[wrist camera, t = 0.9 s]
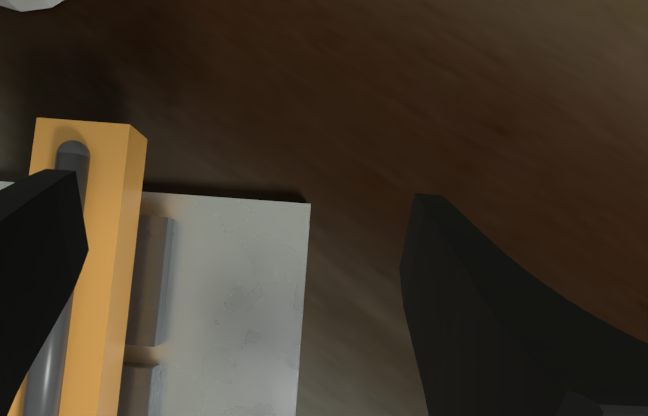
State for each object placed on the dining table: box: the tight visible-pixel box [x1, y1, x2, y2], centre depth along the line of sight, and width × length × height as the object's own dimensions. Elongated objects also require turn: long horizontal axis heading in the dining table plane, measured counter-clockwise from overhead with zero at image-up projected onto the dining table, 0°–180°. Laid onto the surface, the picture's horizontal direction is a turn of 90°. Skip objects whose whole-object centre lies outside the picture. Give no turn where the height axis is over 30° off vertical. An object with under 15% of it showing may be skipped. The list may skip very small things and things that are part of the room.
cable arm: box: [7, 118, 147, 416], centre depth 21 cm, size 20×4×4 cm, turn 176°
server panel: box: [0, 181, 311, 416], centre depth 25 cm, size 18×18×3 cm
